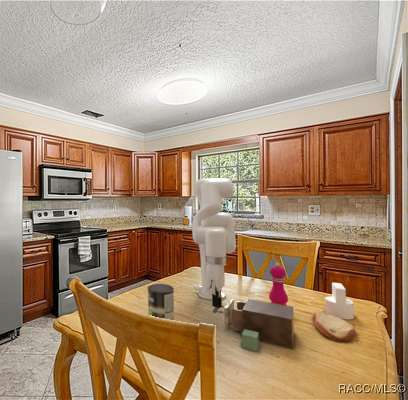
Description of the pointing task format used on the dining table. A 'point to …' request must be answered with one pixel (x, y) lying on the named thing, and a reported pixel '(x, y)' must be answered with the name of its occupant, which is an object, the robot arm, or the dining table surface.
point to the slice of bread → (334, 327)
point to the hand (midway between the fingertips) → (217, 306)
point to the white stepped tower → (339, 303)
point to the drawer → (232, 315)
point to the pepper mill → (278, 285)
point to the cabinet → (270, 322)
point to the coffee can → (161, 301)
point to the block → (250, 340)
